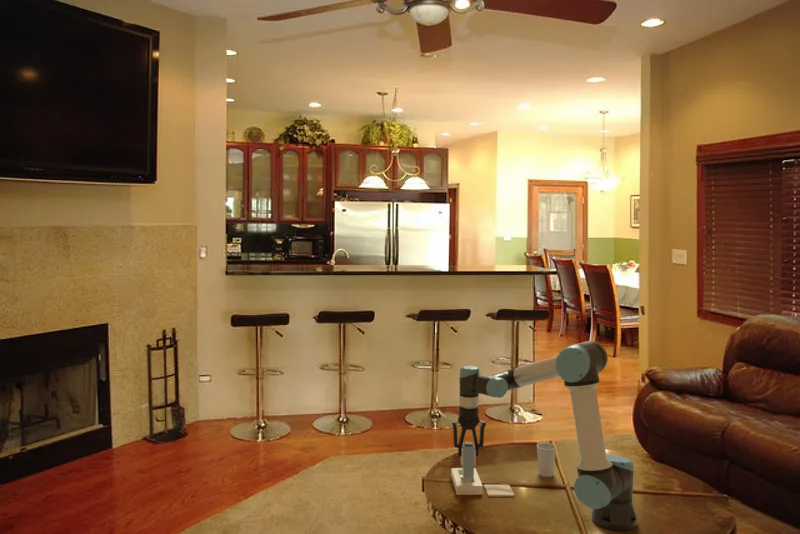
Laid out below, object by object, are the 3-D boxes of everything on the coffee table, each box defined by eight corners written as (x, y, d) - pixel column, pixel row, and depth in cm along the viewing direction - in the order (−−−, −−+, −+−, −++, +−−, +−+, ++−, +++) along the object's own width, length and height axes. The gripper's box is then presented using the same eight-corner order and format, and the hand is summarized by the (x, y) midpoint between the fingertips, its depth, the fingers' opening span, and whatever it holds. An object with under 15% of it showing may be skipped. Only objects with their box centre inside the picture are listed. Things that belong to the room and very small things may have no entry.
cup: (557, 477, 269) (558, 449, 268) (537, 477, 269) (538, 449, 268) (553, 470, 277) (554, 442, 276) (534, 470, 277) (535, 442, 276)
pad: (514, 496, 250) (514, 495, 250) (488, 496, 250) (488, 495, 250) (508, 485, 260) (509, 484, 260) (484, 486, 260) (484, 484, 260)
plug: (473, 477, 255) (474, 444, 254) (463, 477, 255) (464, 444, 254) (472, 473, 259) (472, 441, 258) (462, 473, 259) (462, 441, 258)
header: (482, 494, 252) (482, 485, 252) (456, 494, 251) (456, 486, 251) (475, 476, 270) (475, 468, 269) (451, 476, 269) (451, 468, 269)
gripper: (488, 403, 259) (487, 460, 261) (446, 403, 259) (445, 460, 260) (492, 408, 252) (491, 467, 253) (448, 408, 251) (447, 468, 253)
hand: (468, 464), depth 257 cm, fingers closed on plug, 4 cm apart
